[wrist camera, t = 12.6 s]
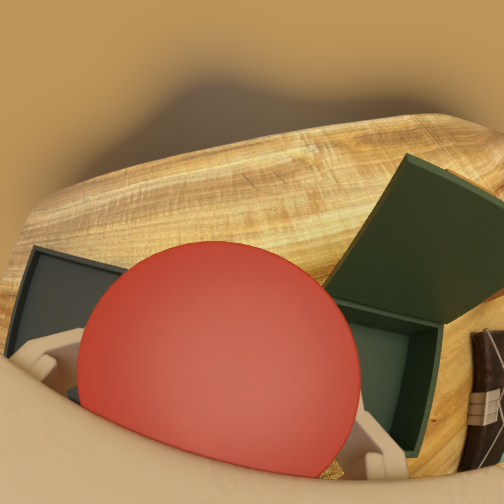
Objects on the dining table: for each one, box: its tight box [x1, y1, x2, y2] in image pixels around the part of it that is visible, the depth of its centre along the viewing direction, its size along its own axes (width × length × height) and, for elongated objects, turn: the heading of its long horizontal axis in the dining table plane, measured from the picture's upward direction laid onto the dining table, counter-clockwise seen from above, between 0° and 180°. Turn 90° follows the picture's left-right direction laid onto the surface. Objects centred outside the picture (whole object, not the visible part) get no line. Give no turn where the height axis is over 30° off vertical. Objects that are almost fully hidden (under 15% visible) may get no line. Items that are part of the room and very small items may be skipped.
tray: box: [4, 245, 128, 406], centre depth 28 cm, size 17×15×2 cm
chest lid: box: [322, 153, 504, 324], centre depth 20 cm, size 15×15×5 cm
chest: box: [331, 296, 444, 458], centre depth 26 cm, size 15×15×7 cm
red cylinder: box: [77, 241, 361, 478], centre depth 11 cm, size 6×6×11 cm
